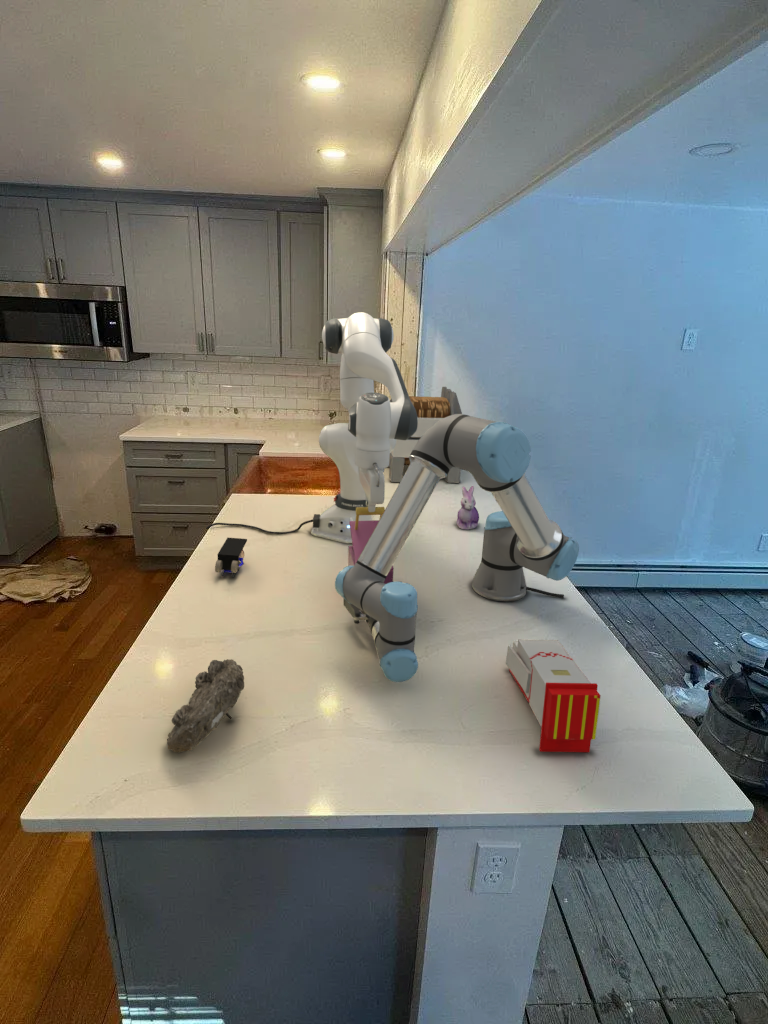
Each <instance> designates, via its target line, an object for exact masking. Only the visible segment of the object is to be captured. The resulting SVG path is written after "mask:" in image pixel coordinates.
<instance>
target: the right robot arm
mask: <svg viewBox="0 0 768 1024" xmlns="http://www.w3.org/2000/svg"><path fill="white" fill-rule="evenodd" d="M531 451H532V446H531V442H530V440H529V437H528V436H527V434H526V433H525V432H524V431H523V430H522V429H521V428H520V427H517V426H514V425H511V424H509V423H508V422H504V421H496V420H491V419H486V418H481V417H476V416H471V415H468V414H464V413H462V414H455V415H450V416H448V417H445V418H443V419H441V420H440V421H438V422H437V423H435V424H434V425H433V426H432V427H431V428H429V429H428V430H427V431H426V432H425V434H424V435H423V436H422V437H421V438H420V439H419V441H418V442H417V444H416V445H415V447H414V448H413V450H412V452H411V454H410V456H409V460H410V465H409V466H408V467H407V469H406V471H405V472H404V473H403V475H402V480H401V482H398V485H397V487H396V489H395V490H394V492H393V495H392V496H391V498H390V500H389V502H388V503H387V506H386V507H385V511H384V513H383V514H382V516H381V518H380V517H379V519H380V520H379V519H378V520H379V522H378V524H377V525H376V527H375V529H374V531H373V533H372V534H371V536H370V538H369V540H368V542H367V544H366V545H365V547H364V549H363V551H362V553H361V555H360V556H359V558H358V560H357V562H356V564H355V565H354V566H348V565H347V566H345V567H343V569H342V570H339V572H338V573H337V574H336V577H335V581H334V589H335V591H336V593H337V594H338V595H339V596H340V597H341V598H343V606H344V608H345V609H346V610H347V612H348V613H349V615H350V616H351V617H352V618H353V622H354V624H360V621H365V622H366V623H367V624H368V627H369V630H370V633H371V636H372V639H373V640H372V641H373V644H374V646H375V650H376V653H377V657H378V661H379V667H380V669H381V670H382V672H383V675H384V676H385V678H387V680H388V681H390V682H393V683H404V682H407V681H409V680H411V679H412V678H413V677H414V676H415V675H416V674H417V673H418V672H417V671H418V669H419V662H418V656H417V654H416V652H415V644H416V627H417V618H418V617H417V615H418V609H419V605H418V591H417V589H416V587H415V586H414V585H412V584H410V583H408V582H403V581H394V580H393V582H390V583H387V584H385V583H384V581H385V579H386V577H387V575H388V573H389V571H390V569H391V568H392V566H393V567H394V564H395V562H396V561H397V558H398V556H399V554H400V553H401V551H402V549H403V547H404V546H405V544H406V542H407V540H408V538H409V536H410V534H411V533H412V531H413V529H414V528H415V526H416V523H417V522H418V520H419V518H420V517H421V514H422V513H423V511H424V509H425V507H426V505H427V503H429V500H430V498H431V496H432V495H433V492H434V491H435V489H436V487H437V485H438V483H439V481H440V480H442V479H445V477H446V476H447V474H448V473H449V471H450V469H451V468H453V467H456V468H459V469H461V471H462V470H463V471H466V472H468V473H469V474H471V476H472V477H473V479H474V481H475V482H476V483H477V485H478V486H479V488H480V489H482V490H483V491H485V492H488V493H491V495H492V496H493V498H494V500H495V501H496V503H497V504H498V506H499V508H500V510H499V511H495V512H492V513H490V514H488V515H487V517H486V518H485V523H484V524H485V525H484V527H483V542H482V549H481V559H480V560H481V561H480V563H479V565H478V567H477V568H476V571H475V574H474V575H473V578H472V581H471V582H472V583H471V587H472V590H473V591H474V592H475V593H476V594H478V595H479V596H481V597H483V598H486V599H488V600H491V601H497V602H515V601H518V600H521V599H523V598H524V597H525V596H526V594H527V591H528V592H533V593H537V594H541V595H545V596H548V597H554V598H562V599H564V598H565V595H564V594H563V593H562V594H561V593H554V592H550V591H545V590H543V589H542V590H541V589H538V588H534V587H529V586H527V581H526V576H525V573H524V569H527V570H530V571H532V572H534V573H536V574H538V575H541V576H543V577H545V578H546V579H550V580H552V581H556V582H558V581H562V580H564V579H565V578H567V576H568V575H569V574H570V573H571V572H572V569H573V568H574V566H575V564H576V562H577V560H578V557H579V552H580V544H579V541H578V540H576V539H575V538H573V537H571V536H570V537H569V536H567V535H565V534H564V533H563V530H562V529H561V527H560V525H559V524H558V523H557V522H556V521H554V520H553V519H549V517H548V515H547V512H546V511H545V509H544V507H543V506H542V504H541V501H540V499H539V498H538V495H537V494H536V492H535V489H534V487H533V486H532V484H531V482H530V479H529V478H528V477H527V474H526V472H527V470H528V468H529V466H530V462H531V458H532V456H531V455H530V452H531ZM359 610H360V611H359Z"/></svg>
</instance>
